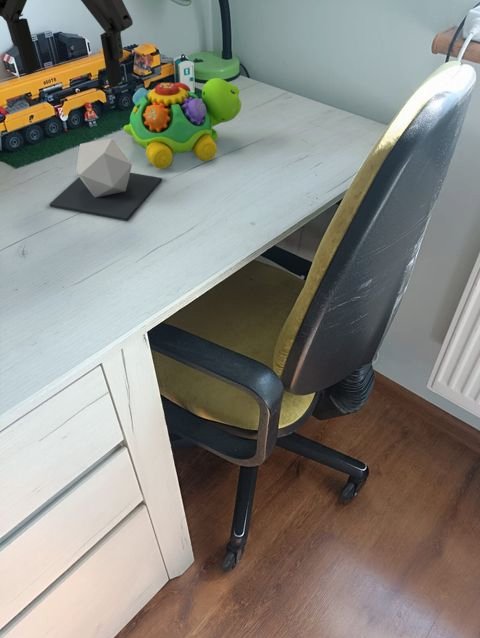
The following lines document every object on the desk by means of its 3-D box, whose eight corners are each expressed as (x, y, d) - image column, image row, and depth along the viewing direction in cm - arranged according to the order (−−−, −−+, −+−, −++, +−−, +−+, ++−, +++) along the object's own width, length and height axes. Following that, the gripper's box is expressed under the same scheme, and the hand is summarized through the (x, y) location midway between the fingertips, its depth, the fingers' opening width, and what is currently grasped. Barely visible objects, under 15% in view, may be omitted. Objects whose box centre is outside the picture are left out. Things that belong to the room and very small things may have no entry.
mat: (50, 206, 85) (49, 203, 85) (91, 168, 94) (91, 165, 94) (127, 221, 83) (126, 218, 82) (162, 180, 92) (162, 177, 92)
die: (129, 177, 93) (86, 131, 87) (152, 170, 86) (106, 119, 80) (100, 211, 90) (54, 166, 85) (121, 206, 83) (72, 157, 78)
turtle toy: (257, 154, 100) (258, 90, 92) (140, 176, 93) (130, 109, 84) (223, 121, 111) (222, 61, 102) (117, 138, 103) (105, 75, 95)
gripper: (-83, -123, 60) (-17, 74, 75) (114, -107, 56) (140, 98, 71) (-40, -127, 65) (13, 58, 80) (143, -112, 61) (162, 80, 76)
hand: (73, 77), depth 75 cm, fingers open, 13 cm apart
